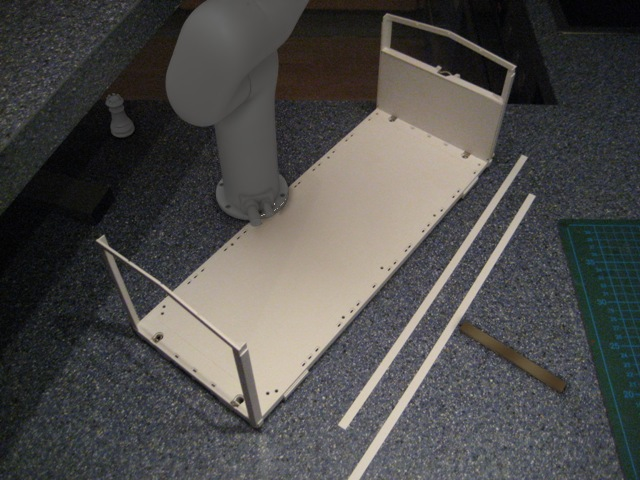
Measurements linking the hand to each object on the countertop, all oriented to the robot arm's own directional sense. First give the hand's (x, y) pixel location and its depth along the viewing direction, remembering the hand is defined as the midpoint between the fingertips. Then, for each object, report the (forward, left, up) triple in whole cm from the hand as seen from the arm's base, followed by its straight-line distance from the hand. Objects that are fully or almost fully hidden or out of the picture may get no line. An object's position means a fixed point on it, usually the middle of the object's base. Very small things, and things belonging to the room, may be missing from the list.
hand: (92, 41), depth 106 cm
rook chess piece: (-1, -1, -19) cm, 19 cm away
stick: (-67, -49, -19) cm, 85 cm away
